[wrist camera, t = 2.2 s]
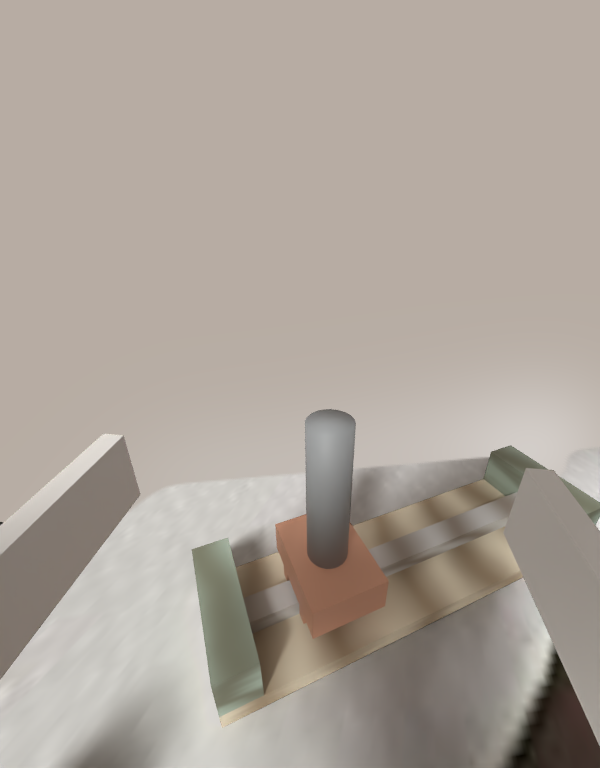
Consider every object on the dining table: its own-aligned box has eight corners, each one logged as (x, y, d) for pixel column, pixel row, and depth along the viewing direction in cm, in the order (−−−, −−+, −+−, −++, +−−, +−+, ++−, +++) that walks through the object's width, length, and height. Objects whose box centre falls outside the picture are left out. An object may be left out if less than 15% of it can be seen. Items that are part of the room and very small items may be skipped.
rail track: (499, 481, 43) (510, 445, 41) (584, 546, 35) (605, 506, 32) (201, 590, 31) (191, 549, 29) (222, 727, 23) (211, 685, 21)
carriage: (336, 535, 34) (342, 387, 27) (383, 615, 27) (408, 446, 20) (277, 557, 32) (266, 403, 25) (312, 648, 25) (312, 474, 18)
